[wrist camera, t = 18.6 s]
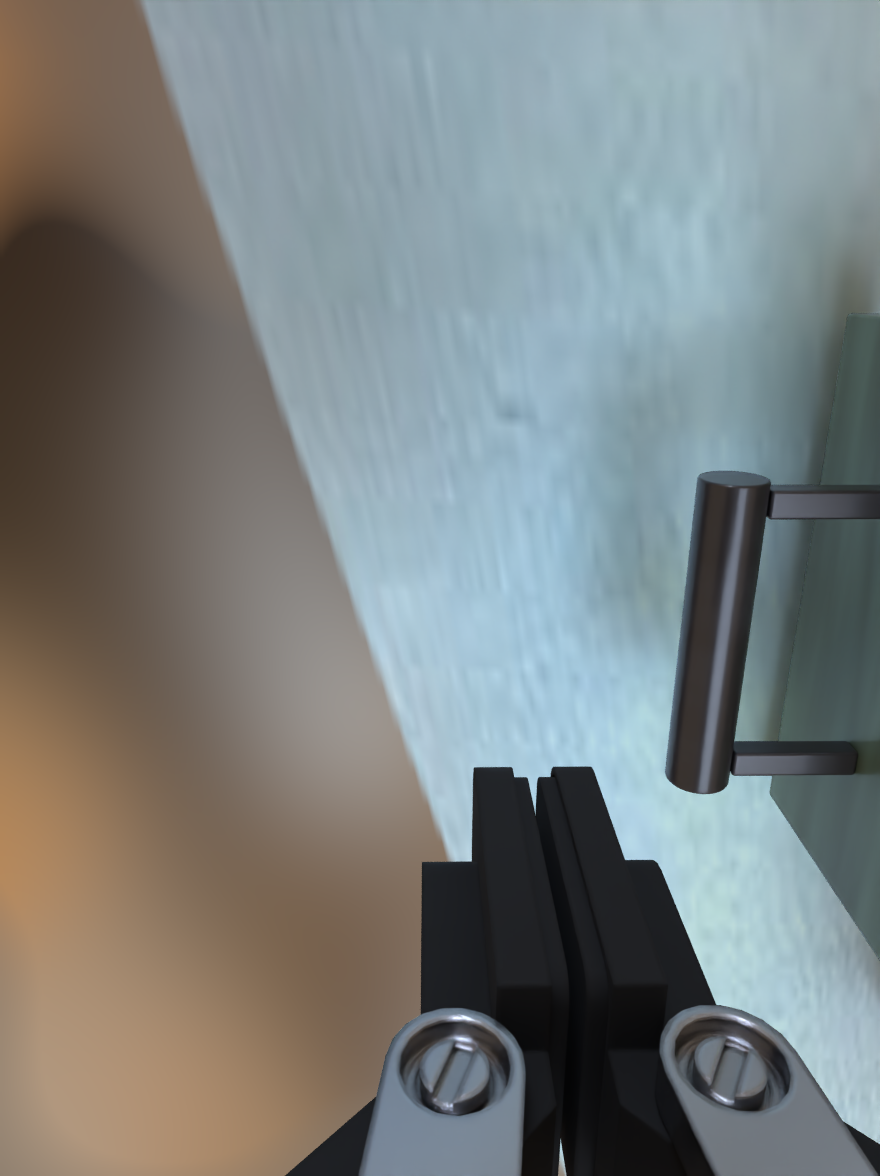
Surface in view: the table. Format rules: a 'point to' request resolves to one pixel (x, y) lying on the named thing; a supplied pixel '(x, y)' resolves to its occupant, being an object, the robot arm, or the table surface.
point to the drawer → (798, 642)
